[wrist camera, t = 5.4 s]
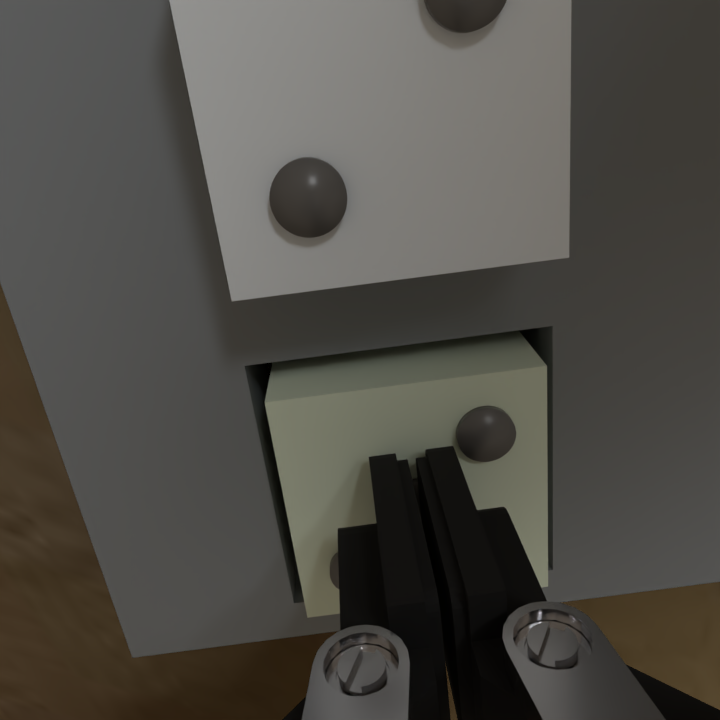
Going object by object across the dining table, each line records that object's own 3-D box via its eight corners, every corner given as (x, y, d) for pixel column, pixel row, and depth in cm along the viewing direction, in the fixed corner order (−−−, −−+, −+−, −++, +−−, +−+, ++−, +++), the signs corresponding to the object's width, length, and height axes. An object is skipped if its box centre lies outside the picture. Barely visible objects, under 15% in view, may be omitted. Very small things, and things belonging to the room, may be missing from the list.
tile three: (504, 313, 14) (550, 370, 12) (510, 503, 17) (551, 593, 14) (276, 342, 14) (263, 407, 12) (310, 529, 17) (307, 625, 14)
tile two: (507, -95, 11) (578, -167, 8) (515, 221, 13) (574, 260, 10) (193, -55, 11) (142, -111, 8) (252, 255, 13) (230, 305, 10)
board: (790, -914, 8) (966, -1292, 6) (669, 516, 17) (721, 581, 15) (-265, -775, 8) (-487, -1100, 6) (157, 582, 17) (132, 657, 15)
